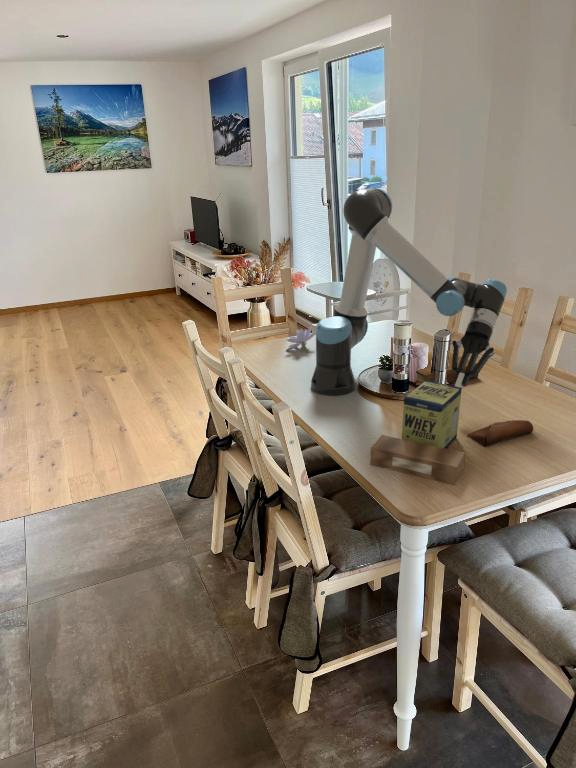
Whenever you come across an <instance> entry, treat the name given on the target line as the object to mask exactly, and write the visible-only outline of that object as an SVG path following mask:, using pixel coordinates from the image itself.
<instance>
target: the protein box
mask: <svg viewBox="0 0 576 768" xmlns="http://www.w3.org/2000/svg"><path fill="white" fill-rule="evenodd" d="M462 389H463V387H462V388H460V387H456V386H455V385H451V384H448V385H446V384H442V383H437V382H432V381H427V380H426V381H425V382H423V383H422V384H421V385H420V386H417V387H416V388H415V389H414V390H412V391H411V392H410V393H409V394H407V395H406V396H405V397H404V398H403V410H402V411H403V412H402V413H403V414H402V427H401V439H404V440H408V441H413V442H418V443H422V444H427V445H431V446H436V447H441V448H445V449H449V447H450V445H452V443H454V442H455V440H457V437H458V428H459V420H460V419H459V418H460V408H461V407H460V406H461V399H462V398H461V397H462Z"/></svg>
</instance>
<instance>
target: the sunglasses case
mask: <svg viewBox="0 0 576 768" xmlns="http://www.w3.org/2000/svg"><path fill="white" fill-rule="evenodd" d="M532 432H534V426H533V424H532V422H531V421H529V420H524V419H523V420H522V419H519V420H518V419H515V420H512V419H511V420H506V421H500V422H494V423H491V424H489V425H488V426H485V427H482V428H479V429H476V430H474V431H472V432H469V433H467V434H466V437H467V438H470V439H471V440H472V441H475V442H476V443H478V444H479V445H481V446H483V447H484V448H486V447H490V446H491V445H494V444H497V443H499V442H502V441H504V440H508V439H511V438H514V437H518V436H522V435H525V434H529V433H532Z"/></svg>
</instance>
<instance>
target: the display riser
mask: <svg viewBox="0 0 576 768" xmlns="http://www.w3.org/2000/svg"><path fill="white" fill-rule="evenodd" d="M369 456H370V458H369V459H370V461H369V464H370V465H371V466H375V467H378V468H379V467H380V468H383V469H386V468H387V470H390V471H395V472H399V473H403V474H408V475H411V476H416V477H420V478H424V479H429V480H432V481H436V482H440V483H445V484H449V485H454V486H456V484H457V483H458V481H459V480H460V477H461V475H462V473H463V472H464V468H465V467H464V466H465V457H466V452H464V451H459V450H454V449H450V448H447V449H445V448H441V447H436V446H431V445H427V444H422V443H418V442H413V441H408V440H404V439H402V438H397V437H394V436H389V435H384V434H381V435H380V436H379V437H378V438H377V439H376V441H375V442H374V443H373V444H372V445H371V447H370V455H369Z"/></svg>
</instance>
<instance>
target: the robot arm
mask: <svg viewBox="0 0 576 768" xmlns="http://www.w3.org/2000/svg"><path fill="white" fill-rule="evenodd" d="M392 211H393V202H392V199H391V196H389V194H388V193H387V192H386V191H385V190H383V189H382V188H379V187H367V188H365V189H359V190H356V191H354V192H353V193H351V194H349V195H348V197H347V198H346V200H345V202H344V204H343V212H342V213H343V217H344V220H345V223H347V224H348V230H349V231H350V233H351V239H350V244H349V251H348V254H347V255H348V256H347V262H346V267H345V272H344V278H343V283H342V289H341V295H340V299H339V303H337V304H336V305H335V306H334V309H333V314H332V315H333V316H329V317H324V318H323V319H321V320H319V321H318V323H317V324H316V326H315V327H316V330H315V332H316V334H315V354H316V355H315V362H316V364H315V368H314V372H313V374H312V377H311V381H310V385H311V386H310V388H311V389H312V390H313V391H314V392H316V393H317V394H318V393H319V394H321V395H327V396H340V395H346V394H348V393H351V392H353V391H354V390H355V389H356V379H355V375H354V372H353V369H352V365H351V364H352V363H351V359H352V357H351V356H352V349H353V348H354V347H355V346H356V345H357V344H359V343H360V342H361V341H362V340H363V339H364V338H365V336H366V334H367V332H368V329H369V324H368V318H367V317H368V314H369V313H368V310H367V309H366V307H365V306H366V300H367V296H368V295H367V294H368V291H369V290H368V289H369V285H370V281H371V277H372V270H373V265H374V260H375V254H376V251H377V250H376V249H378V250H379V251H380V252H381V253H382V254H383V255H384V256H385V257H387V258H388V259H389V261H391V262H392V263H393V264H394V265H395V266H396V267H397V268H398V269H399V270H400V271H401V272H402V273H403V274H405V275H406V277H407V278H408V279H409V280H411V281H412V282H413V283H414V284H415V285H416V286H417V287H419V289H420V290H421V291H422V292H423V293H425V295H426V296H428V297H429V298H430V299H431V300H432V302H433V303H434V304H435V306H436V309H437V311H438V313H440V314H441V315H442V316H444V317H453V316H456V315H457V314H458V313H460V312H461V311H462V310H463V308H464V307H468V308H473V312H472V313H471V316H470V319H469V323H468V324H467V326H466V330H465V332H464V335H463V336H462V337H461V339H459V340H453V341H452V343H451V344H452V346H453V349H452V350H453V351H452V353H453V358H452V370H453V372H454V373H456V375H455V377H454V380H453V382H454V383H453V384H454V386H456V387H460V388H462V389H463V387H467V386H468V382H469V380H470V379H469V378H470V377H472V376H474V377H476V376H477V375H478V376H479V374H480V372H481V371H482V369H483V367H484V366H485V365H486V363H487V362H488V360H489V359H490V358H491V357H492V356H494V355H495V350H494V347H491V346H490V340H491V338H492V334H493V331H494V329H495V326H496V324H497V320H498V318H499V315H500V312H501V310H502V308H503V304H504V302H505V299H506V296H507V292H508V287H507V286H506V284H505V283H503V282H502V281H501V280H497V279H487V280H485V281H484V283H483V284H479V283H475V282H472V281H468V280H465V279H460V278H458V277H453V276H446V275H444V274H443V272H441V271H440V270H439V269H438V268H437V267H436V266H435V265H434V264H433V263H431V261H430V260H429V259H427V257H425V256H424V254H423V253H421V252H420V251H419V250H418V249H417V248H416V247H415V245H413V244H412V243H411V242H410V241H408V239H406V238H405V237H404V236H403V235H402V234H401V232H399V231H398V230H397V229H396V228H395V227H394V226H393V225H392V224H391V223H390V222H389V218H390V217H391V214H392ZM461 346H462V348H463V353H462V355H461V360H460V363H459V365H458V356H460V355H459V354H460V348H461ZM483 352H484V353H483ZM481 353H483V355H482V356H481V357H480V358H479V355H480V354H481ZM469 357H470V358H469ZM477 359H479V360H478V361H477ZM467 360H469V363H468V366H467V368H466V371H465V374H464V373H463V370H464V368H465V365H466V362H467ZM475 363H477V364H476V366H475V367H474V365H475ZM457 365H458V368H457ZM473 368H474V369H473Z"/></svg>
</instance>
